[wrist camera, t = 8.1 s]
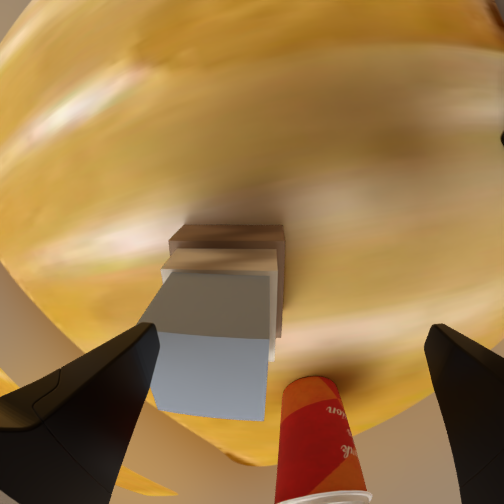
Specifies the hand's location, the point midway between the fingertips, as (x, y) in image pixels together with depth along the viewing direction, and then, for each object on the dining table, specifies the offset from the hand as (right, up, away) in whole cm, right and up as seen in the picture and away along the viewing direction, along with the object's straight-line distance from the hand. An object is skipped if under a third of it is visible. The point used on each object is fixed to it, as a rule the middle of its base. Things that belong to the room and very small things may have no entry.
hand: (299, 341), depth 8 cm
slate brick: (-3, -1, +7) cm, 8 cm away
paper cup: (+4, -11, +18) cm, 22 cm away
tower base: (-3, +1, +13) cm, 14 cm away
